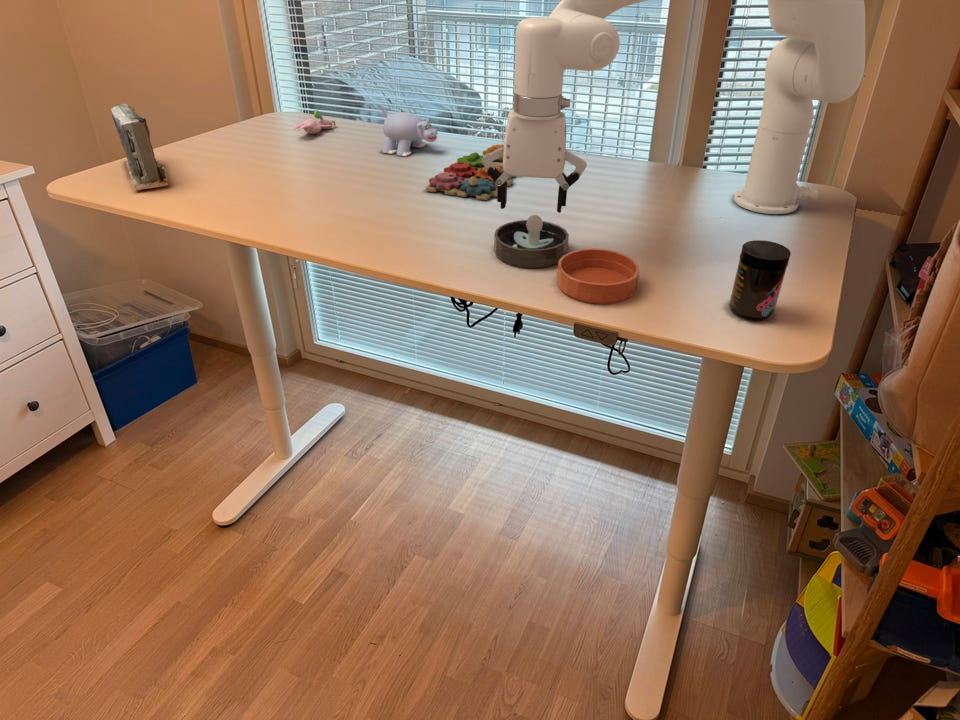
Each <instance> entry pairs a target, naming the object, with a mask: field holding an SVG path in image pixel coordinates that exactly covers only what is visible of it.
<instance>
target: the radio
mask: <svg viewBox="0 0 960 720" xmlns="http://www.w3.org/2000/svg"><path fill="white" fill-rule="evenodd" d="M110 113H111V116H112V119H113V122H114V125H115V127H116V131H117V134H118V136H119V139H120V142H121V145H122V148H123V151H124V153H125V156H126V160H127V161H126V167H127V170H128V174H129V176H130V180H131V184H132V186H133V188H134V190H135V191H142V190H146V189H153V188H159V187H165V186H169V182H168V178H167V174H166V170H165V168H164V166H163V165H162V164H158V162H157V159H156V156H155V152H154V148H153V144H152V142H151V135H150V134H151V133H150V129H149V127H148V124H147V123H148V122H147V119H146V117H143V116H140V115H139V114H138V113H136V110H135V108H134V107H133V106H131V105H129V104H126V103H116V105H115V106H113V107H112V108H110Z"/></svg>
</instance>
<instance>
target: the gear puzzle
mask: <svg viewBox="0 0 960 720" xmlns="http://www.w3.org/2000/svg"><path fill="white" fill-rule="evenodd" d="M503 146H504V144H494V145H491V146H489V147H487V148H486V149H485V150H483V151H482V154H479V153H478V152H477V151H476V152H475V151H474V152H472V153H470V154H469V155H463V156H462V157H458V158H457V159H456V162H454V163H451V164H450V165H449V166H448V167H444V168H443V172H439V173H437V174H435V175H434V177H431V178H428V183H429V184H428V185H426V187H425V190H426V192H431V193H437V192H438V191H439V192H444V195H448V196H457V197H462V198H467V197H468V196H471V197H475V198H476V199H477V200H481V201H487V200H489V199H490V198H492V197H494V198H497V189H498V186H497V185H496V182H495V181H494V180H493V179H492V178H491V177H490V176H489V175H488V173H487V170H486V168H485V166H484V164H483V162H482V158H483V156H484V155H486V154H488V153H490V152H492V151H495V150H497V149H499V148H501V147H503ZM497 160H498V161H492V163H493V165H494V167H495V168H496V169H497V170H498V171H499V172H500V173H501V172H502V170H503V157H501V158H499V159H497ZM499 161H501V162H499ZM513 178H514V176H510V177H509V178H508V179H507V180H506V182H507V187H511V185H512V184H513V181H514V180H513Z"/></svg>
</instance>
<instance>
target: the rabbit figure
mask: <svg viewBox="0 0 960 720" xmlns="http://www.w3.org/2000/svg"><path fill="white" fill-rule="evenodd" d="M313 116H314V118H315V119H318V120H315V119H313V118H307V119H305V120H304V121H303V122H297V123H295V124H293V126H292V131H295V130H297V132H298V131H301V130H304V132H305V133H307V134H310V135H316V134H318V133H320V132H321V130H331V129H332V127H334V128H336V127H337V126H336V120H335V119H334V120H333V119H332V120H329V119H328V118H324V117H323V116H322V115H321V114H319V110H318V109H317V110H314V112H313Z"/></svg>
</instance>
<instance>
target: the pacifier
mask: <svg viewBox="0 0 960 720" xmlns="http://www.w3.org/2000/svg"><path fill="white" fill-rule="evenodd" d="M526 220H527V223H526V227H527V230H528V234H526V233H524V232H519V231H518V232H515V233H514V240H515V242H516V243H517V244H515V245H513V246H512V247H517V248H519V247H523V249H534V250H535V249H544V248H543V247H545V246H547V245H549V244H551V243H552V242H553V241H554V239H553V238H550V239H543V240H539V237H540V231H541V229H542V226H543V222H542V221H543V219H542V218H541V217H540V216H539V215H537V214H532V215H530V216H529V217H528V218H527V219H526ZM522 237H525V238H526V239H523V238H522Z"/></svg>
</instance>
